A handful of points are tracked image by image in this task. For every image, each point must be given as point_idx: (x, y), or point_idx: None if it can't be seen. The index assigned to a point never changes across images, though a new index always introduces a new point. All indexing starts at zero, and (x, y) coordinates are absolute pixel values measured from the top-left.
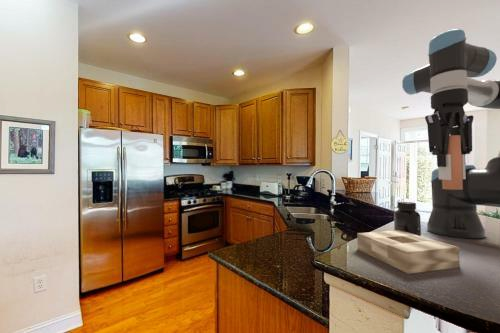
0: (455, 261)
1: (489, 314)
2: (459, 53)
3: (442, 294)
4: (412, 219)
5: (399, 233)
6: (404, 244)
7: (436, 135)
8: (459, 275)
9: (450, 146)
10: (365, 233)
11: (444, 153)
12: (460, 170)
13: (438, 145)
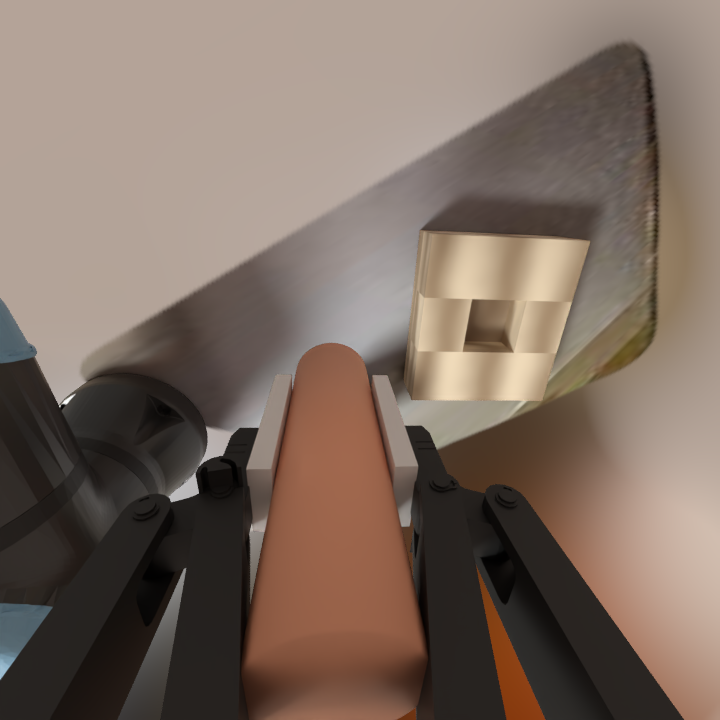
0: (435, 231)
1: (613, 52)
2: None
3: (599, 140)
4: None
5: (445, 372)
6: (533, 291)
7: (617, 643)
8: (471, 196)
9: (396, 526)
10: (525, 394)
11: (450, 475)
12: (329, 385)
13: (542, 526)
